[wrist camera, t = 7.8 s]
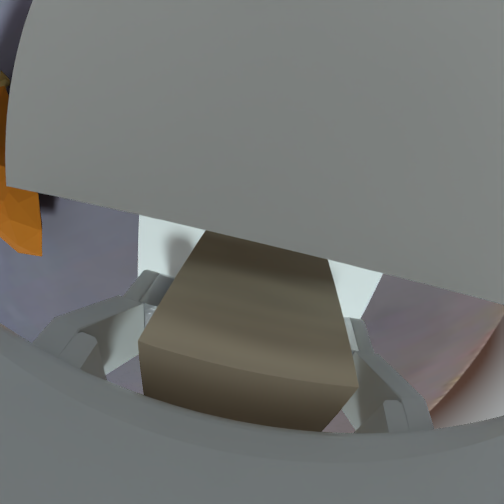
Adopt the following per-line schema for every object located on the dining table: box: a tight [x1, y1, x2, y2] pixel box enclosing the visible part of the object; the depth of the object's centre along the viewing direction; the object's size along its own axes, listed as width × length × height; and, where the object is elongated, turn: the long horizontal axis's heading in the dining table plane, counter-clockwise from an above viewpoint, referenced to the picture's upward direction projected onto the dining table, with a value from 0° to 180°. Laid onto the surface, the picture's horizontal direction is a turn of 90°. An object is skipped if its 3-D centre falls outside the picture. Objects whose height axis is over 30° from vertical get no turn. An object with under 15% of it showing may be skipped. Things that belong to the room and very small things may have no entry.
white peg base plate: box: [138, 215, 383, 319], centre depth 11 cm, size 18×12×4 cm, turn 168°
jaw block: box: [138, 230, 359, 432], centre depth 8 cm, size 4×4×6 cm
